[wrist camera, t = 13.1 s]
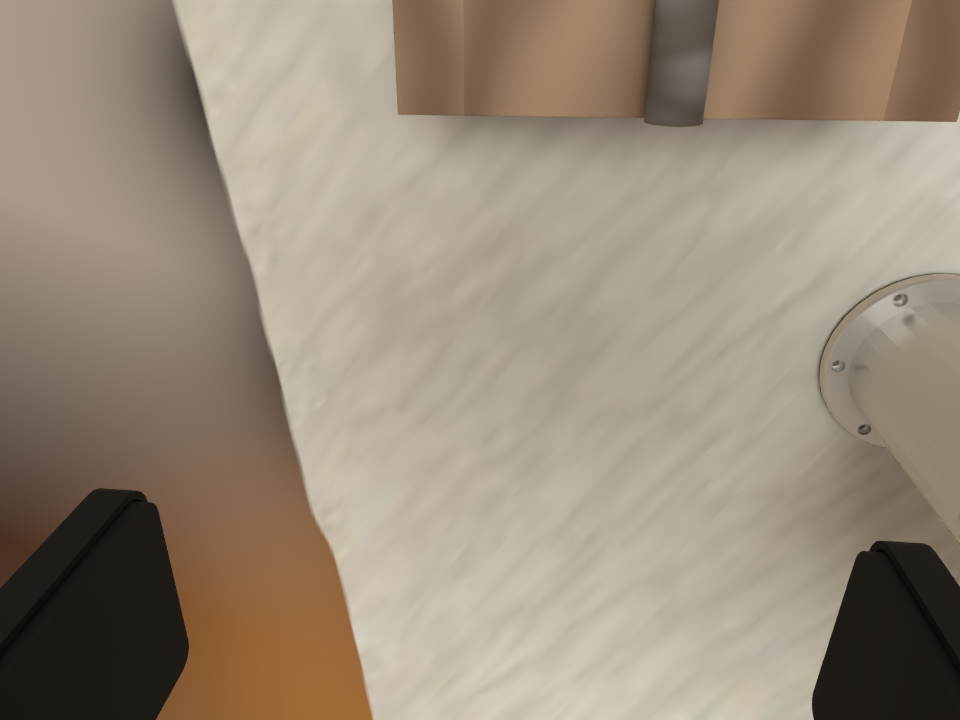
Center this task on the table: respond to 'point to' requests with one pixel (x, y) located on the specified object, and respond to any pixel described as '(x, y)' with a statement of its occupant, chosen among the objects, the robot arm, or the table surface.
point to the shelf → (620, 51)
